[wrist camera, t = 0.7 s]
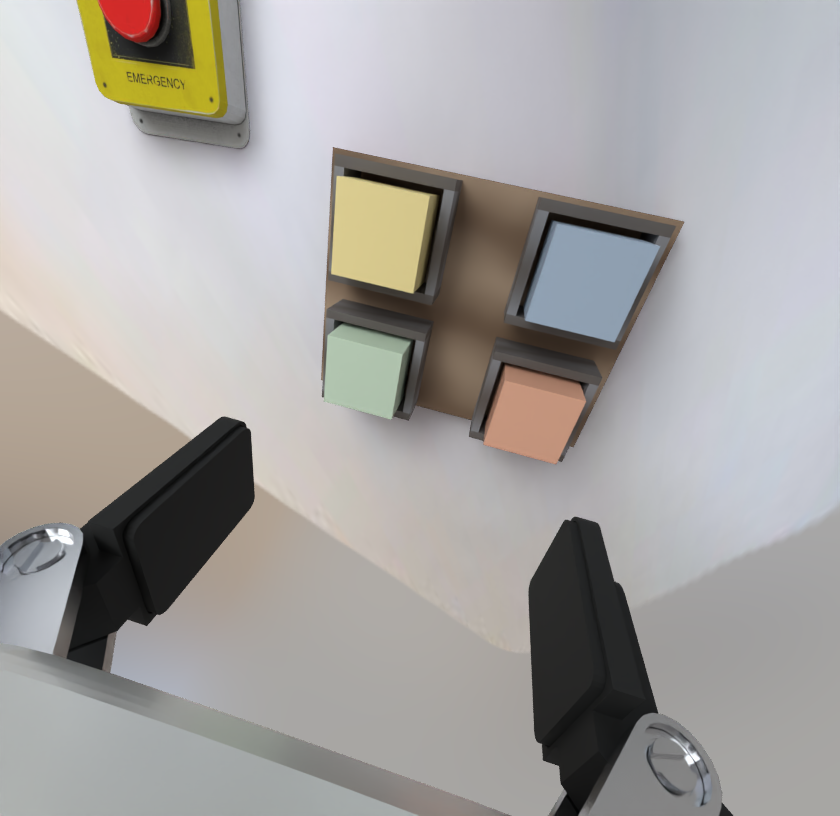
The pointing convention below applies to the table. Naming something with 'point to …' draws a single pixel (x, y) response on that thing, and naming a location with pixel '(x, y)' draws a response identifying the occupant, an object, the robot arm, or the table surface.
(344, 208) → the mustard button
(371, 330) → the sage button
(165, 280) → the table surface
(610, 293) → the slate button
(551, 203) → the console
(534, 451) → the terracotta button
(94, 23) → the emergency button
